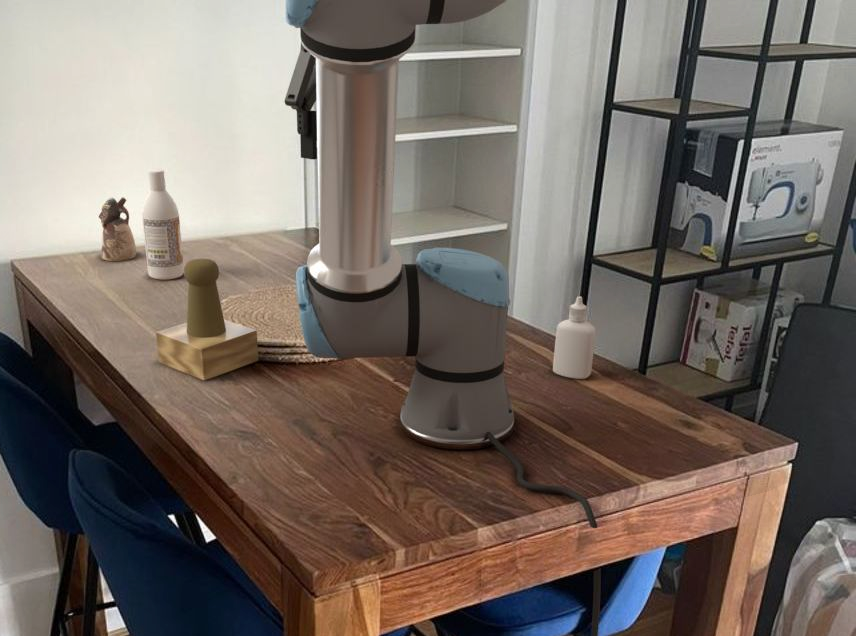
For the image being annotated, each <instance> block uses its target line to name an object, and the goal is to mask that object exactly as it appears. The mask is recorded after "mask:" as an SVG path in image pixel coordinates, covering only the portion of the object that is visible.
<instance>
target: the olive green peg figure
mask: <svg viewBox="0 0 856 636" xmlns="http://www.w3.org/2000/svg"><path fill="white" fill-rule="evenodd" d="M183 275H184V278H185V281H186V282H187V283H188V287H187V288H188V290H187V291H188V293H187V312H186V313H187V314H186V316H187V317H186V323H187V334H188V335H190V336H193V337H199V338H207V337H215V336H219V335H221V334H223V333H224V332H225V331H226V327H225V322H224V319H225V318H224V313H223V309H222V304H221V299H220V294H219V289H218V285H217V280H218V279H219V275H220V268H219V266H218V264H217V262H216V261H215V260H213V259H210V258H194V259H191V260H188V261H187V262H186V263H185V265H184V273H183Z"/></svg>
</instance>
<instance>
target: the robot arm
mask: <svg viewBox="0 0 856 636" xmlns="http://www.w3.org/2000/svg"><path fill="white" fill-rule="evenodd" d="M506 1H507V0H285V22H286V23H287V25H289V26H290V27H291V26H292V27H294V28H295V29H299V30H300V32H299V33H300V51H299V54H298V56H297V60H296V64H295V66H294V69H293V73H292V76H291V79H290V82H289V84H288V88H287V91H286V95H285V98H284V104H285V105H286V106H287V107H291V109H292V110H295V111H296V131H297V134H298V135H300V136H299V137H300V140H299V141H300V143H299V144H300V158H301V159H307V160H313V161H314V160H317V187H318V188H317V189H318V193H317V195H318V197H317V198H318V237H319V238H318V241H319V242H318V244H316V245H315V246H314V247H313V248H312V249H311V250H310V252H309V254H308V256H307V260H306V261H307V262H306V264H304V265H301V266H299V267H298V268H297V269H296V273H295V283H296V285H295V286H296V297H297V304H298V310H299V321H300V324H301V325H300V326H301V332H302V336H303V340H304V344H305V347H306V349H307V351H308V352H309V353H310V354H311V355H312V356H313V357H315V358H319V359H333V360H334V359H336V360H339V361H340V360H341V361H343V360H346V359H361V358H362V359H363V358H364V359H365V358H368V359H369V358H407V357H415V361H414V363H415V364H414V374H413V376H412V379H411V383H410V385H409V389H408V392H407V395H406V397H405V398H406V399H405V400H404V401H403V402H402V403H403V404H402V406H401V409H400V420H399V421H400V428H401V431H402V432H403V433H404V435H406V436H407V437H408V438H410V439H412V440H414V441H415V442H417V443H420V444H423V445H426V446H429V447H434V448H439V449H445V450H460V451H461V450H462V451H463V450H465V451H466V450H477V449H482V448H488V447H493V446H495V448H496V449H497V450H498V451H499V452H500V453H501V454H502V455H503V456H504V457H505V458H506V459H507V460H508V461H509V462H511V464H512V465H513V466H514V467H515V469H516V471H517V473H516V481H517V483H518V484H519V485H520V486H521V487H523V488H525V489H527V490H530V491H534V492H543V493H555V494H562V495H565V496H568V497H570V498H572V499H573V500H576V501H577V502H579V503H580V504H581V506H582V508H583V510H584V512H585V515H586V518H587V521H588V523H589V526H590V527H591V528H593V529H598V523H597V520H596V518H595V515H594V512H593V509H592V507H591V504H590V502H589V501H588V499H587V498H586V497H585V496H583V495H582V494H580V493H578V492H576V491H574V490H572V489H569V488H567V487H563V486H558V485H547V484H546V485H544V484H535V483H531V482H528V481H527V480H525V479H524V474H525V471H524V467H523V465H522V464H521V462H520V461H519V460H518V459H517V458H516V456H515V455H513V454H512V453H511V452H510V451H509V450H508V449H507V448H506V446H505V445H503V444H502V443H501V442H504V441H505V440H507V439H508V438H509V437H510V436H511V435H512V434H513V431H514V427H515V415H514V408H513V406H512V403H511V399H510V393H509V389H508V386H507V382H506V379H505V374H504V373H505V372H504V371H505V358H506V357H505V356H506V343H507V331H508V330H507V328H508V314H509V306H510V305H511V299H510V275H509V271H508V270H507V268H506V267H505V266H504V265H503V263H502V262H500V261H499V260H497V259H495V258H493V257H491V256H488V255H486V254H484V253H480V252H476V251H472V250H467V249H462V248H455V247H454V248H453V247H433V248H425V249H422V250H421V251H420V252H419V253H418V254H417V257H416V258H415V263H403V258H402V255H401V253H400V251H398V249H397V248H396V247H395V246H394V245H393V244H392V225H393V224H392V223H393V205H394V204H393V203H394V201H393V200H394V183H395V182H394V181H395V179H394V178H395V159H396V158H395V157H396V156H395V155H396V138H397V137H396V136H397V135H396V133H397V114H398V113H397V112H398V91H399V90H398V89H399V67H400V60H401V59H402V58H403V57H404V56H406V55H407V54H408V53H409V52H410V51H411V50H412V49H413V47H414V46H415V42H416V29H417V27H416V26H419V25H444V24H445V25H446V24H456V23H462V22H466V21H469V20H473V19H476V18H478V17H481V16H484V15H485V14H488V13H489V12H491V11H493V10H495V9H496V8H497V7H499V6H501V5H502V4H504V3H505V2H506ZM315 104H316V110H313V107H314V105H315ZM601 572H602V569H601V568H598V569H596V570H594V571H593V594H592V595H593V596H592V599H593V600H592V615H591V618H592V619H591V632H590V636H599V624H600V610H601V587H602V586H601V585H602V584H601V583H602V582H601V579H602V578H601V577H602V575H601V574H602V573H601Z"/></svg>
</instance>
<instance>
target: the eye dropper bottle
mask: <svg viewBox="0 0 856 636" xmlns="http://www.w3.org/2000/svg"><path fill="white" fill-rule="evenodd" d="M587 312H588V306H587V305H585V304H584V303H583V297H582V296H579V295H578V296H577V297H576V299H575V302H574V303H572V304H571V305H569V314H568V319H564V320H562V321H561V322H559V323H558V324H557V326H556V331H555V332H556V333H555V342H554V352H553V363H552V372H553V373H554V374H556V375H559V376H562V377H564V378H568V379H574V380H585V379H587V378H589V377H590V376H591V375H592V369H593V361H594V360H593V359H594V352H595V342H596V328H595V326H594V325H593V324H591V323H590V322H589V321H586V319H587Z"/></svg>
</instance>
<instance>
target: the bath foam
mask: <svg viewBox="0 0 856 636" xmlns="http://www.w3.org/2000/svg"><path fill="white" fill-rule="evenodd" d="M148 183H149V192H148V194H147V195H146V198H145V200H144V202H143V205H142V209H141V210H142V211H141V215H142V216H141V218H142V219H141V220H142V227H143V238H144V247H145V257H146V265H147V274H148V276H149V277H150V278H151V279H155V280H161V281H163V280H165V281H166V280H168V281H169V280H174V279H178V278H180V277H182V276H183V275H184V267H185V265H184V256H183V244H182V231H181V221H180V214H179V208H178V206H177V204H176V202H175V200H174V198H173V197H172V196H171V195H170V193H169V192H168V190H167V189H166V178H165V170H164V169H162V168H152V169H148Z"/></svg>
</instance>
